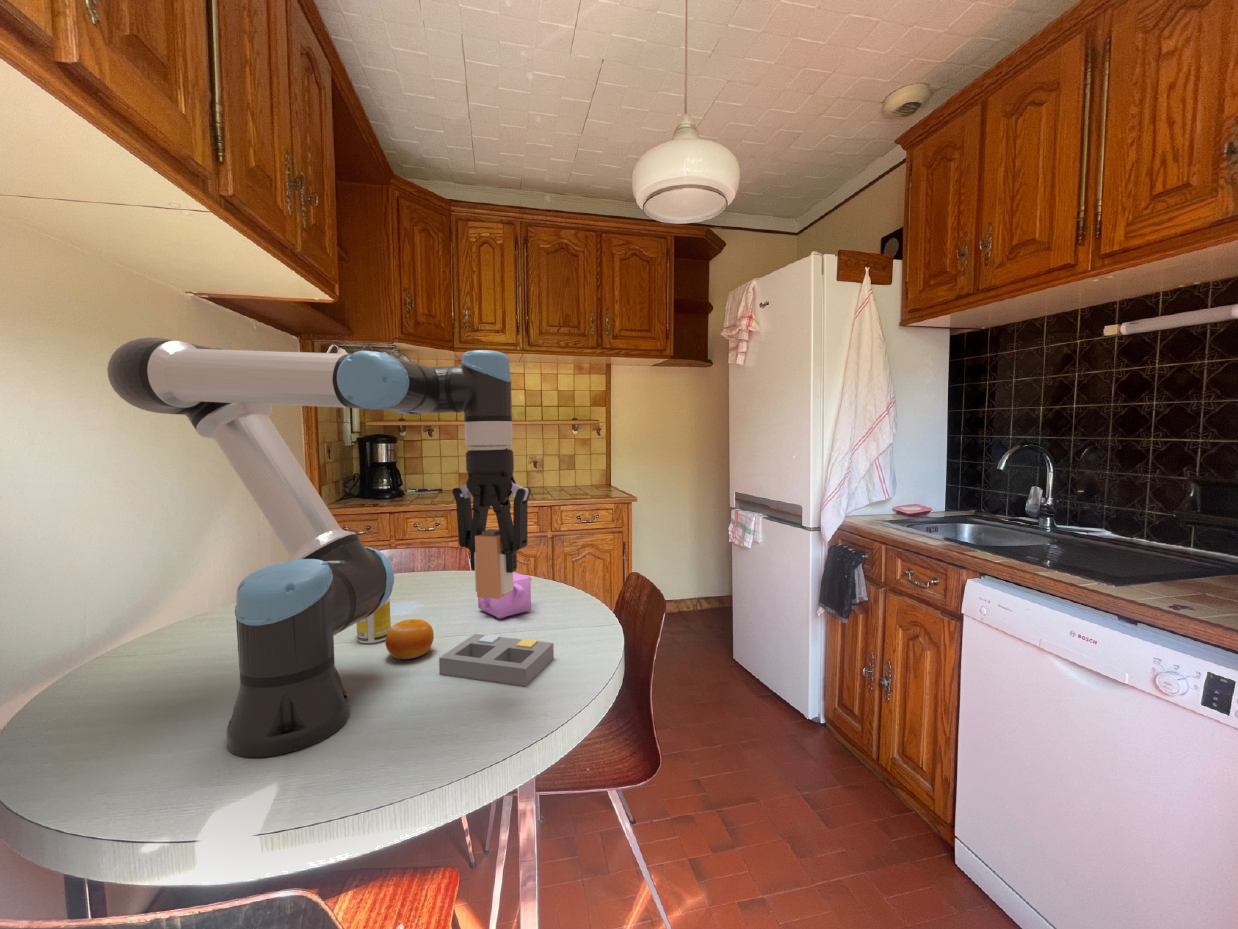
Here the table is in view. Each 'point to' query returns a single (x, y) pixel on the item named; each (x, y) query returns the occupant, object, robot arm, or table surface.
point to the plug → (488, 564)
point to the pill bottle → (375, 625)
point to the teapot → (510, 599)
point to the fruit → (409, 638)
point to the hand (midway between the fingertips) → (494, 590)
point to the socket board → (497, 659)
